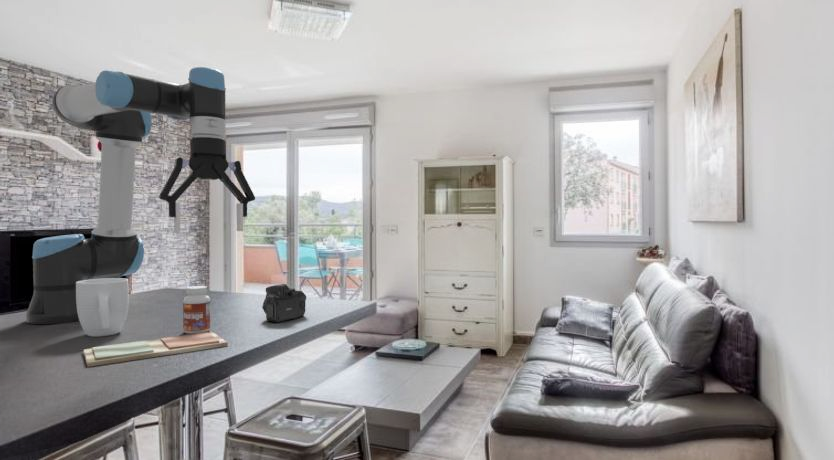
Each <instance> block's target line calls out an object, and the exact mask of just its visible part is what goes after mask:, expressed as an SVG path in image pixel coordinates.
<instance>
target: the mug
mask: <svg viewBox="0 0 834 460" xmlns="http://www.w3.org/2000/svg"><path fill="white" fill-rule="evenodd" d="M129 289H130V288H129V279H128V278H125V277H124V278H123V277H104V278H92V279H85V280H82V281H78V282H76V304H77V313H78V318H79V320H78V321H79V324H80V326H81V328H82V330H83V331H84V334H86V335H87V336H89V337H94V338H95V337H98V338H99V337H107V336H113V335H116V334H118V333H120V332H121V331H122V329H123V327H124V325H125V323H126V320H127V317H128V313H129V305H130V304H129V303H130V302H129V301H130V296H129V295H130V291H129Z"/></svg>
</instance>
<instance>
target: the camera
mask: <svg viewBox="0 0 834 460" xmlns="http://www.w3.org/2000/svg"><path fill="white" fill-rule="evenodd" d="M265 293H266V294H265V298H264V301H263V303H262V310H263V312H264V314H265V318H266V321H267V322H268V323H269V322H271V323H281V322H285V321H291V320H293V319H294V320H295V319H298V318H300V317H304V316H305V314H306V300H307V295H306V294H305V293H304V292H303V291H301V290H296V288H293V287H289V285H288V284H287V283H282V284H276V285H275V284H274V285H270V286H267V287H266V288H265Z"/></svg>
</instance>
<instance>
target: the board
mask: <svg viewBox="0 0 834 460" xmlns="http://www.w3.org/2000/svg"><path fill="white" fill-rule="evenodd" d="M228 344H229V343H228V341H226V340H225V339H223V338H222V337H221V336H219V335H218V334H216V333H215V332H213V331H212V332H209V331H208V332H205V333H198V334H184V335H177V336H170V337H169V336H168V337H163V338H162V337H161V338H160V339H151V340H139V341H137V340H136V341H131V342H124V343H115V344H107V345H99V346H93V347H91V348H85V349H83V355H84V360H85V361H86V366H87V368H90V367H94V366H95V367H96V366H102V365H110V364H115V363H123V362H129V361H130V362H131V361H136V360H143V359H151V358H155V357H156V358H157V357H163V356H169V355H175V354H176V355H177V354H182V353H183V354H184V353H190V352H197V351H203V350H210V349H216V348H223V347H228V346H229V345H228Z"/></svg>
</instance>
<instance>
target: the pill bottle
mask: <svg viewBox="0 0 834 460" xmlns="http://www.w3.org/2000/svg"><path fill="white" fill-rule="evenodd" d="M207 288H208V286H206V285H196V286H195V285H194V286H187V287H186V289H185V290H186V291H185V293H186V294H187V296H185V297H184V298H183V299H182V300H183V302H182V303H183V304H182V306H183V307H182V308H183V309H182V313H183V314H182V315H183V316H182V317H183V318H182V319H183V321H182V322H183V323H182V324H183V326H182V327H183V328H182V329H183V330H182V331H183V333H186V335H191V334H198V333H206V332H208V333H209V331H210V330H211V298H210V296H209V295H207V293H208V292H207V291H208V289H207Z"/></svg>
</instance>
